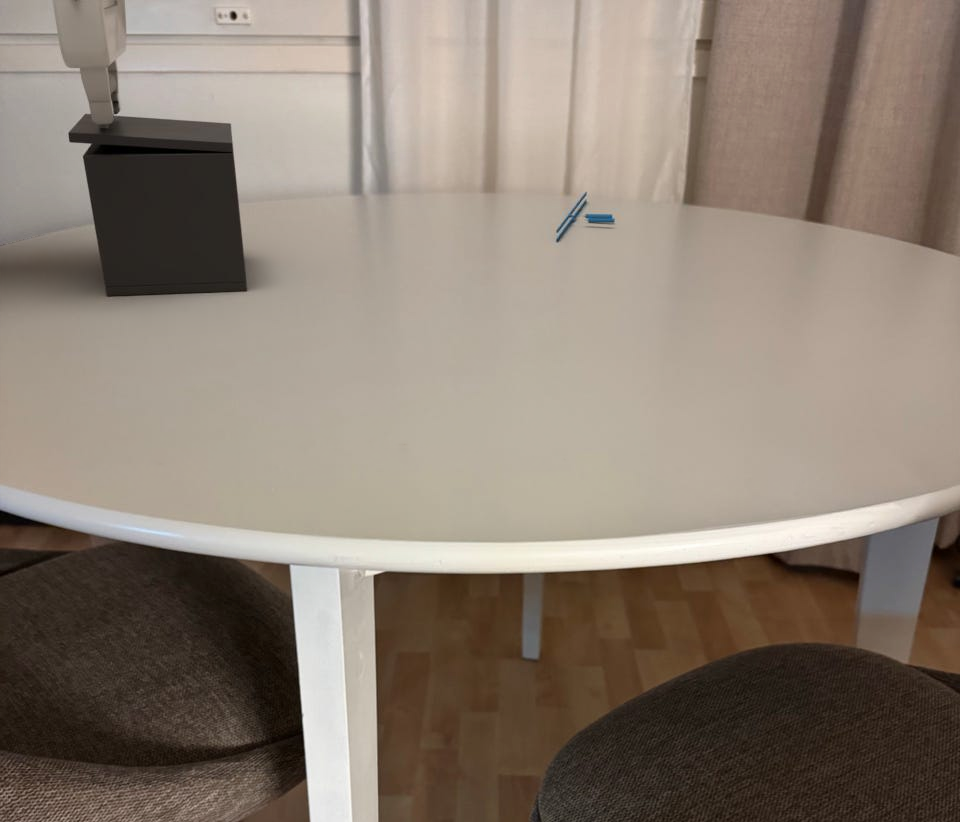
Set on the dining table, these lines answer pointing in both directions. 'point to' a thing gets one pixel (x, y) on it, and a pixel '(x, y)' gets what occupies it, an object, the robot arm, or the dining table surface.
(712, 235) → the dining table surface
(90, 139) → the lid
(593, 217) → the chopsticks
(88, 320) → the dining table surface
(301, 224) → the dining table surface
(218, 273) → the box
